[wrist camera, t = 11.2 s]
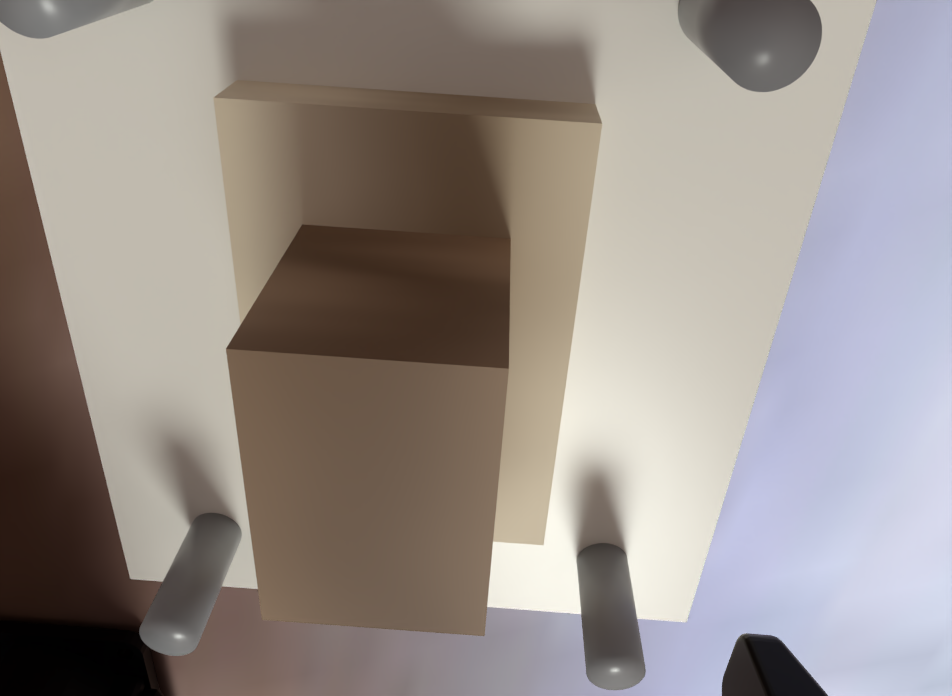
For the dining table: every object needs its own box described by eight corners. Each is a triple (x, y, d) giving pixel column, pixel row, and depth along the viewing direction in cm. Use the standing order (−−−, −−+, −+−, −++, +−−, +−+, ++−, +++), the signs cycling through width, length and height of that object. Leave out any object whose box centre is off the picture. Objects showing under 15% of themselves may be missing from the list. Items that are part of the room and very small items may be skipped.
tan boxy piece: (279, 487, 18) (200, 692, 13) (236, 79, 13) (91, 186, 9) (541, 506, 18) (550, 718, 13) (595, 103, 13) (636, 223, 8)
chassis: (154, 535, 21) (71, 685, 17) (-1, -188, 12) (-233, -217, 9) (676, 575, 21) (712, 736, 17) (873, -125, 12) (1034, -125, 8)
